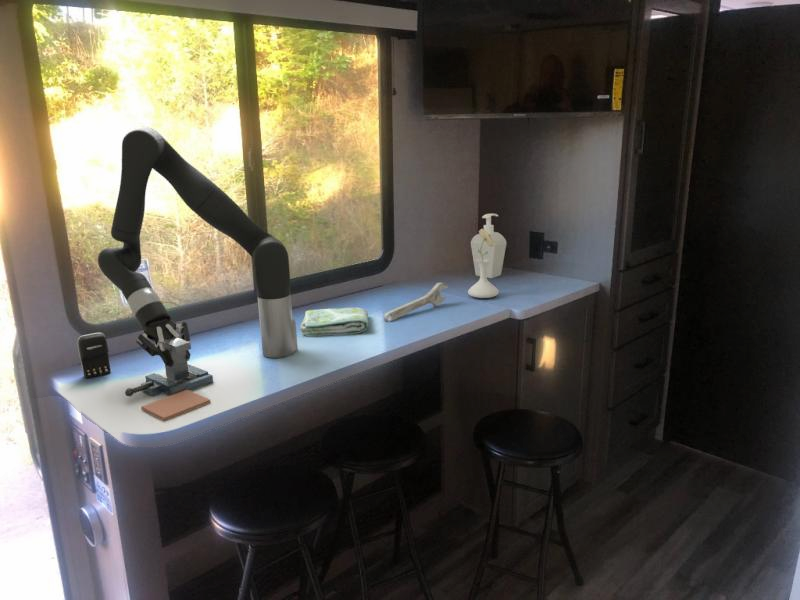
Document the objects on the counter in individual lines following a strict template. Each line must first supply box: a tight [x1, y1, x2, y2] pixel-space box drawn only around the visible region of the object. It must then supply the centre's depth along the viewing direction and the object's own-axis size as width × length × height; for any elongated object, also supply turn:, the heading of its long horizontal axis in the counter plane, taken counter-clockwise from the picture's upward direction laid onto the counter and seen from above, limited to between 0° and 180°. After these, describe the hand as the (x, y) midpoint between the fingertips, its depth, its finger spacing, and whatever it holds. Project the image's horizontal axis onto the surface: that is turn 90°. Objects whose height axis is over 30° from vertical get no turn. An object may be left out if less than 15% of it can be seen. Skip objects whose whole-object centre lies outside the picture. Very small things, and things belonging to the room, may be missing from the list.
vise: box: [124, 363, 214, 397], centre depth 158 cm, size 20×13×3 cm, turn 140°
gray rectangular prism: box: [163, 337, 192, 382], centre depth 160 cm, size 4×7×10 cm, turn 50°
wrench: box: [382, 282, 449, 322], centre depth 216 cm, size 8×2×30 cm
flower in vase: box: [467, 228, 499, 299], centre depth 231 cm, size 13×11×25 cm
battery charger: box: [76, 332, 112, 379], centre depth 168 cm, size 7×4×11 cm, turn 124°
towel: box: [299, 306, 369, 337], centre depth 203 cm, size 18×21×5 cm
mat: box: [140, 390, 211, 422], centre depth 148 cm, size 12×10×1 cm
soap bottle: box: [470, 213, 507, 279], centre depth 263 cm, size 12×10×26 cm
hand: (179, 362), depth 159 cm, fingers closed on gray rectangular prism, 4 cm apart
